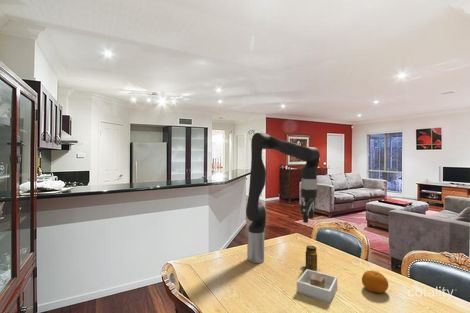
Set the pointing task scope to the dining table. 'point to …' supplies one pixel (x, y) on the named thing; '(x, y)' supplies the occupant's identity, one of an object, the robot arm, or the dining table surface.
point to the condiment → (311, 259)
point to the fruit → (374, 281)
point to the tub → (315, 291)
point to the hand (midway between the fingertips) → (308, 220)
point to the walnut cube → (317, 281)
